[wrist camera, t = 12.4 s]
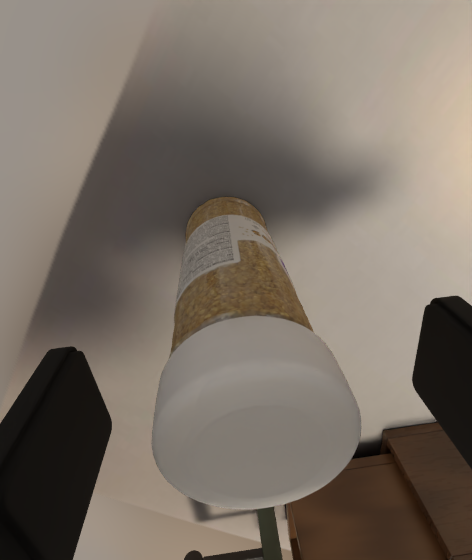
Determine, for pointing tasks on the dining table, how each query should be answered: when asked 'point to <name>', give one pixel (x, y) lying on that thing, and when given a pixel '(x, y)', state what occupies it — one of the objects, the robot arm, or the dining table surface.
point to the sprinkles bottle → (247, 374)
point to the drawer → (350, 520)
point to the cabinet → (436, 483)
